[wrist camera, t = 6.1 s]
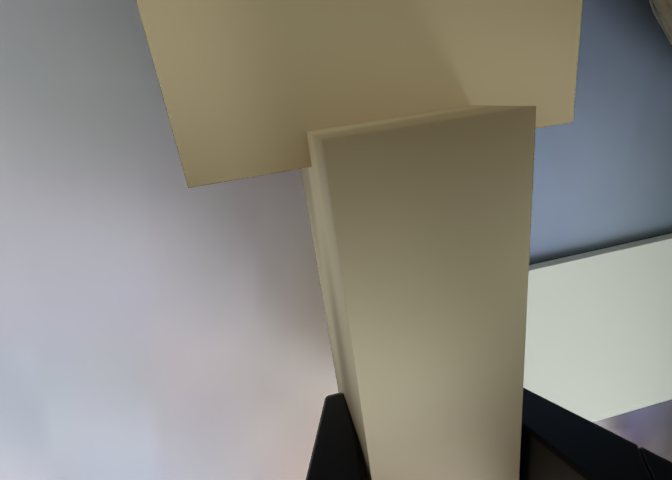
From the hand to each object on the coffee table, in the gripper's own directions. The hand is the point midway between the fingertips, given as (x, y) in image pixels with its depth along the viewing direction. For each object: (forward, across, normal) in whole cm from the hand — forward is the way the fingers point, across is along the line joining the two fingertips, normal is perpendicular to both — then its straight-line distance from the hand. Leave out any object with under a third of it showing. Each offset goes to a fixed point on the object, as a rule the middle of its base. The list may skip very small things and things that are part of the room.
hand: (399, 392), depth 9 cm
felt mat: (+6, -10, +6) cm, 13 cm away
